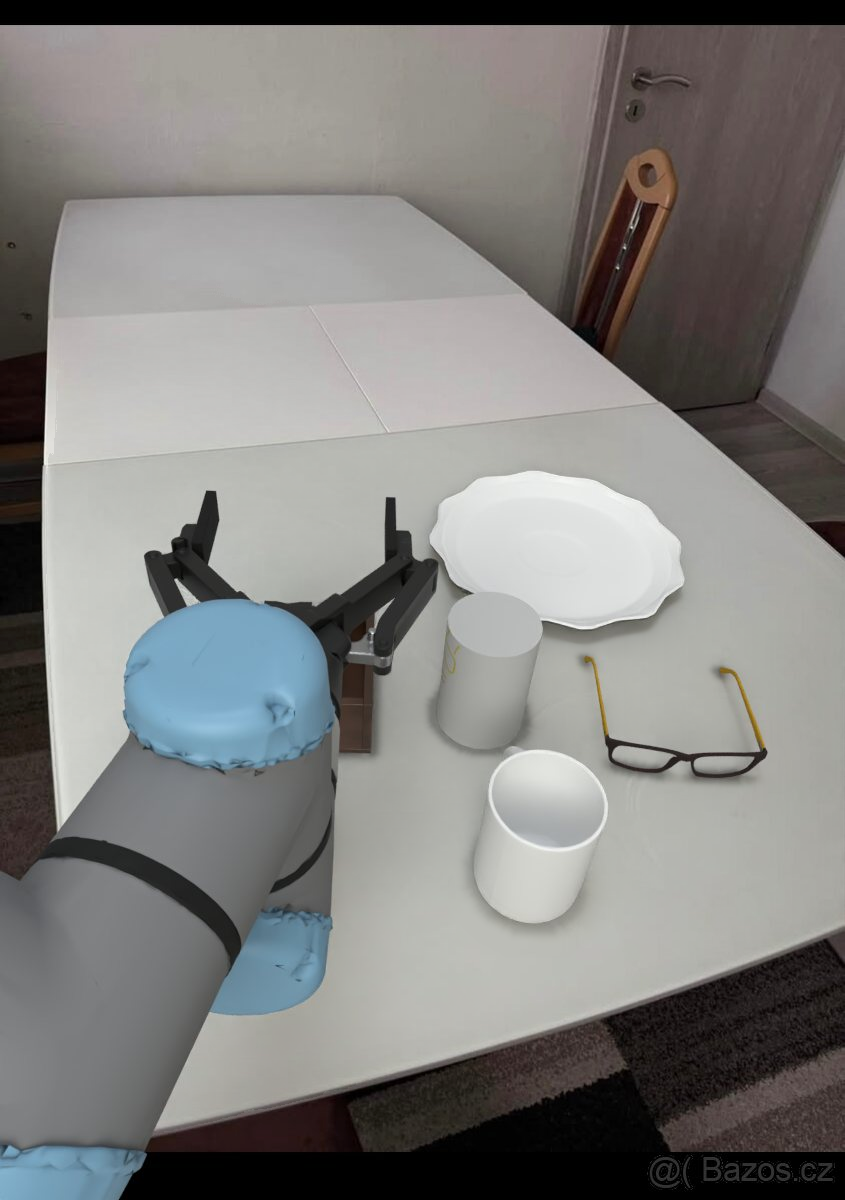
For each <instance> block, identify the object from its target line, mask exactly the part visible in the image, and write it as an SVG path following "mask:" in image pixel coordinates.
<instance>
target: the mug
mask: <svg viewBox="0 0 845 1200" xmlns="http://www.w3.org/2000/svg"><path fill="white" fill-rule="evenodd" d="M607 797H608V796H607V794H606V791H605V789H604V787H603V785H602V783H601V782H600V780H599V779H598V777H597V776H596V775H595V774H594V773H593V772H592V770H591V769H589V768H588V767H587V766H586V765H584V764H583V763H582V762H581V761H579V760H578V759H575V758H574V757H572V756H569V755H567V754H566V753H562V752H559V751H555V750H550V749H528V750H524V749H523V748H521V747H519V746H516V745H514V746H513V745H511V746H508V747H507V748H506V749H505V750H504V752H503V755H502V760H501V762H500V763H499V765H497V767H496V768H495V769H494V771H493V772H492V774H491V776H490V779H489V781H488V786H487V791H486V796H485V801H484V805H483V811H482V814H481V815H482V816H481V820H480V826H479V831H478V836H477V841H476V845H475V851H474V856H473V876H474V881H475V883H476V887H477V888H478V891H479V892H480V894H481V896H482V897H483V899H484V900H485V901H486V903H488V904H489V906H490V907H491V908H493V909H494V910H495V911H496V912H497V913H499V914H500V915H502V916H504V917H506V918H507V919H511V920H513V921H516V922H520V923H525V924H527V923H528V924H541V923H547V922H550V921H553V920H555V919H557V918H559V917H561V916H562V915H563V914H565V913H566V912H567V911H568V910H569V909H570V908H571V907H572V905H574V903H575V902H576V900H577V898H578V896H579V894H580V892H581V889H582V887H583V884H584V881H585V878H586V876H587V874H588V871H589V869H590V866H591V863H592V861H593V858H594V856H595V853H596V850H597V847H598V845H599V843H600V840H601V837H602V834H603V832H604V829H605V827H606V824H607V822H608V818H609V817H608V816H609V801H608V798H607Z"/></svg>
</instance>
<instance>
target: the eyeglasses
mask: <svg viewBox="0 0 845 1200" xmlns="http://www.w3.org/2000/svg"><path fill="white" fill-rule="evenodd" d="M583 660H584V663H591V665H592V668H593V673H594V678H595V684H596V691H597V697H598V703H599V709H600V715H601V724H602V730H603V736H604V744H605V746H606V747H607V756H608V760H609V762H610V763H611V764H613V765H615V766H617V767H619V768H622V769H626V770H629V771H633V772H639V773H646V774H647V773H648V774H659V773H663V772H666V771H667V770H668V771H669V770H670V769H671V768H672V767H674V766H676V764H678V763H680V762H686V763H688V762H690V768H691V772H692V774H693V775H694V776H696V777H700V778H705V779H722V778H723V779H724V778H732V777H737V776H742V775H745V774H747V773H749V772H750V771H751V770H753V768H755V767H756V766H757V765H759V764H760V763H761V762H762V761H764V760H765V759H766V758H767V756H768V753H769V751H768V749H767V748H766V745H765V741H764V739H763V736H762V734H761V731H760V728H759V725H758V723H757V720H756V718H755V715H754V712H753V710H752V707H751V704H750V702H749V699H748V697H747V694H746V692H745V689H744V687H743V683H742V681H741V679H740V677H739V675H738V673H737V672H736V671H735V670H734V669H731V668H729V667H728V668H727V667H724V666H721V667H719V669H718V671H719V673H720V674H721V675H726V674H731V675H732V676H733V677H734V678H735V680H736V683H737V685H738V688H739V693H740V694H741V697H742V701H743V703H744V706H745V709H746V712H747V715H748V718H749V720H750V723H751V727H752V730H753V732H754V737H755V740H756V743H757V746H758V748H759V751H746V752H743V751H741V752H737V751H736V752H735V751H732V752H731V751H724V752H723V751H716V752H713V751H711V752H710V751H709V752H695V753H685V752H682V751H678V750H674V749H671V748H666V747H662V746H661V747H660V746H655V745H648V744H641V743H636V742H631V741H625V740H620V739H615V738H612V737H610V733H609V728H608V723H607V718H606V712H605V707H604V701H603V695H602V690H601V684H600V678H599V674H598V669H597V664H596V661H595V659H594V658H593V657H591V656H589V655H585V656H584V658H583ZM618 747H630V748H635V749H643V750H650V751H656V752H660V753H665V754H666V753H667V754H670V755H673V756H672V757H671V758H669V760H667V762H666V763H665V764H664V765H663V766H661V767H658V768H644V767H638V766H637V767H636V766H632V765H628V764H625V763H622V762H620V761H617V760H615V759H614V758H613V753H614V751H615V749H616V748H618ZM708 757H709V758H711V757H742V758H743V757H746V758H747V757H749V758H751V757H752V758H753V759H752V761H750V763H749V764H748V765H747V766H746V767H744V768H743V769H741V770H737V771H732V772H727V773H726V772H725V773H707V772H700V771H697V770H696V769H695V761H696V760H698V759H701V758H708Z"/></svg>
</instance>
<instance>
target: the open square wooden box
mask: <svg viewBox="0 0 845 1200" xmlns="http://www.w3.org/2000/svg"><path fill="white" fill-rule="evenodd" d="M375 618H376V613H374V614H373V615H372V616H370V617H369V618H368V619H366V620H365V621H364V622H363V623H361V624H360V625H359V626H357V627H356V628H355V629H354V630H353V631H352V632H351V635H350V637H349V638H350V640H351V642H357V641H360V640H361V639H362V638H363V636H364V635H365V634H367V633H368V629H369V628H376V627H375V626H376V625H375V622H376V621H375V620H376V619H375ZM374 675H375V673H374V672H373V665H367V664H357V663H349V665H348V666H347V667H346V668H345V670H344V672H343V678H342V698H341V716H340V721H339V727H340V739H339V754H371V753H372V740H373V739H372V737H373V715H374V714H373V713H374V712H373V711H374V678H375V677H374Z"/></svg>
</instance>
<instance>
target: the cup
mask: <svg viewBox="0 0 845 1200" xmlns="http://www.w3.org/2000/svg"><path fill="white" fill-rule="evenodd" d="M543 627H544V626H543V622H541V619H540V617H539V615H538V614H537V613H536V611H535V610H534V609H533V608H532V607H531V606H529V605H528V604H527V603H525V602H524V601H522V600H520V599H518V598H516V597H514V596H511V595H507V594H503V593H498V592H480V593H474V594H472V593H470V594H468V595H466V596H463V597H462V598H460V599H458V600H456V602H455V603H454V604H453V605H452V606H451V608H450V610H449V612H448V615H447V623H446V631H445V638H444V646H443V653H442V661H441V672H440V680H439V688H438V696H437V703H436V705H437V706H436V719H437V722H438V725H439V727H440V728H441V729H442V731H443V733H444V734H445V735H446V736H447V737H449V738H450V739H451V740H452V741H453V742H455V743H457V744H459V745H460V746H464V747H466V748H470V749H475V750H493V749H497V748H500V747H501V748H502V747H503V746H505V745H507V744H509V743H510V742H511V741H513V740H514V739H515V738H516V737H517V735H518V734H519V732H520V731H521V728H522V725H523V720H524V719H523V718H524V714H525V710H526V706H527V702H528V697H529V692H530V688H531V684H532V680H533V676H534V671H535V667H536V662H537V658H538V654H539V649H540V645H541V640H542V636H543V630H544V628H543Z"/></svg>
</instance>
